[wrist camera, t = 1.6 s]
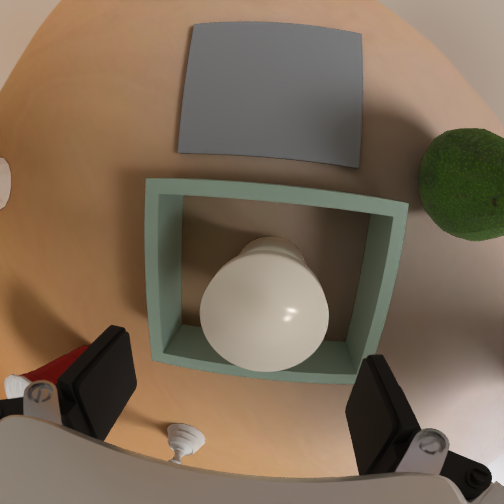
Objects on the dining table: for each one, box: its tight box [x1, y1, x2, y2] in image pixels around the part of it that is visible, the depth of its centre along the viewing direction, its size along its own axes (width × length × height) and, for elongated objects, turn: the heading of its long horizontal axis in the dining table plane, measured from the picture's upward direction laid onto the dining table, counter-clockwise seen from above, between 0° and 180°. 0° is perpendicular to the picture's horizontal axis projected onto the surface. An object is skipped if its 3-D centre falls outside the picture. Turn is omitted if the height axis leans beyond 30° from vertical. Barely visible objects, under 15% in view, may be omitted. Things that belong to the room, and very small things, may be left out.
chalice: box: [167, 423, 205, 464], centre depth 21 cm, size 7×7×18 cm
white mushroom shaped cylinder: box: [200, 236, 329, 372], centre depth 19 cm, size 7×7×9 cm
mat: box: [178, 22, 363, 168], centre depth 19 cm, size 14×12×1 cm
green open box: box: [145, 178, 409, 384], centre depth 21 cm, size 17×14×5 cm
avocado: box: [418, 128, 504, 241], centre depth 14 cm, size 8×8×12 cm
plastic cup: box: [5, 346, 89, 399], centre depth 23 cm, size 11×11×12 cm
